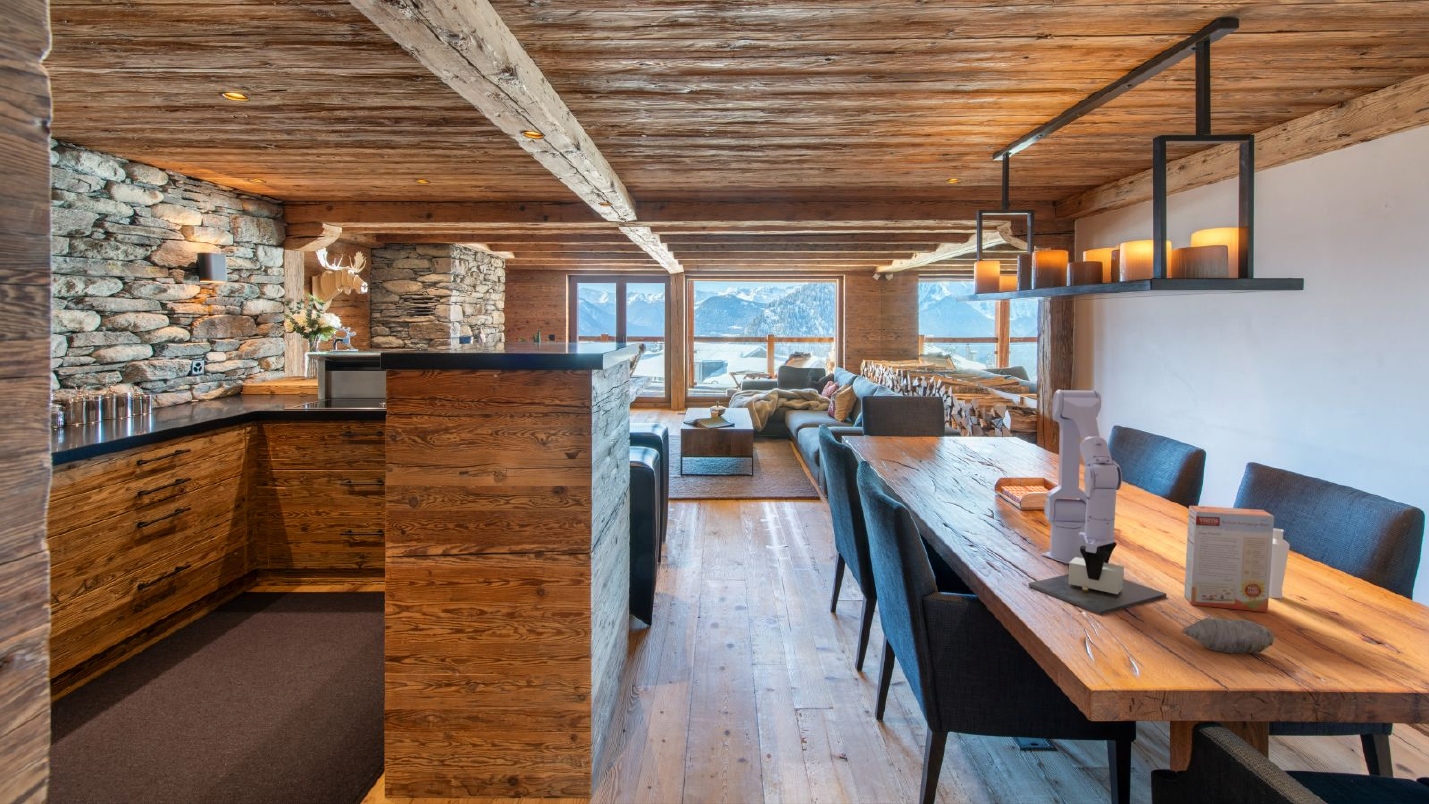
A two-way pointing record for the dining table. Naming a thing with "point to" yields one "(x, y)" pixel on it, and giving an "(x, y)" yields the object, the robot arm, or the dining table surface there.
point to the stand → (1097, 594)
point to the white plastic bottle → (1278, 563)
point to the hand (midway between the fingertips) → (1096, 575)
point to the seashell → (1230, 635)
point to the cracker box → (1229, 558)
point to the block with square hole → (1108, 580)
